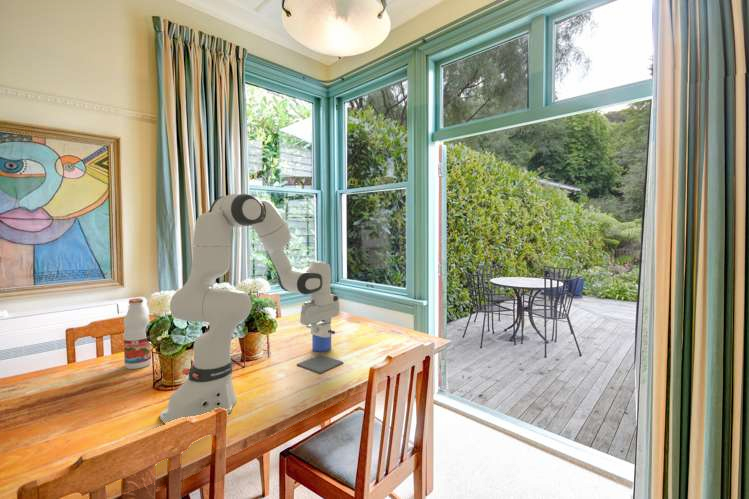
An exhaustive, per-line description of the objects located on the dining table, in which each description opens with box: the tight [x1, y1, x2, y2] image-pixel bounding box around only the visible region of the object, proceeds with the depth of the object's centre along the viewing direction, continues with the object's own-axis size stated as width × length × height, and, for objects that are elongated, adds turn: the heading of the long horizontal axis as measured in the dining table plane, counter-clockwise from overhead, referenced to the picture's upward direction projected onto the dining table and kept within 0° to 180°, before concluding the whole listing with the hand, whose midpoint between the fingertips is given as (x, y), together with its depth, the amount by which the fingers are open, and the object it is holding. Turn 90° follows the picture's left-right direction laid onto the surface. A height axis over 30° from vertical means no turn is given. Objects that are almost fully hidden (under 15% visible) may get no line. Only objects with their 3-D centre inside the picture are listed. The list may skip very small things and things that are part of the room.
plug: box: [305, 321, 336, 338], centre depth 154 cm, size 15×4×5 cm, turn 54°
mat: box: [296, 354, 344, 375], centre depth 155 cm, size 14×14×1 cm
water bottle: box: [311, 318, 332, 353], centre depth 173 cm, size 9×9×25 cm
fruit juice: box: [123, 297, 152, 370], centre depth 150 cm, size 9×9×28 cm
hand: (320, 330), depth 154 cm, fingers closed on plug, 4 cm apart
